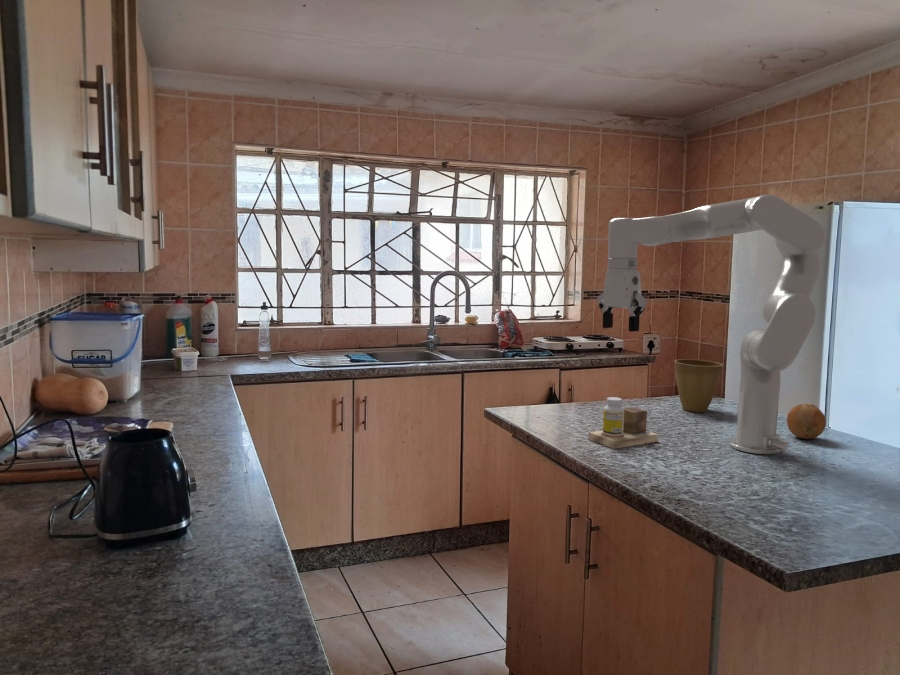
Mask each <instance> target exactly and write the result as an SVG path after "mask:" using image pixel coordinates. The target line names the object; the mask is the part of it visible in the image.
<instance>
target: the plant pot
mask: <svg viewBox="0 0 900 675" xmlns="http://www.w3.org/2000/svg"><path fill="white" fill-rule="evenodd" d="M723 367H724V365H723V363H720V362H716V361H711V360H704V359H692V358H691V359H689V358H687V359H685V358H684V359H681V358H680V359H676V360H674V370H675V372H674V373H675V381H676V387H677V391H678V392H677V393H678V397H679V400H680V403H681V407H682V409H683V410H685V411H687V412H692V413H705V412H707V410H708V408H709V407H710V405H711V403H712V400H713V398H714V396H715V393H716V390H717V388H718V385H719V381H720V379H721V374H722V370H723Z"/></svg>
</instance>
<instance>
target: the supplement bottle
mask: <svg viewBox="0 0 900 675" xmlns="http://www.w3.org/2000/svg"><path fill="white" fill-rule="evenodd" d="M622 405H623V399H622V398H620V397H615V396H609V397H607V398H606V405H605V406H604V407H603V415H602V416H603V418H602V419H603V420H602V421H603V422H602V430H603V433H604V434H605V435H608V436H622V435H623V430H624V408H625V407H623V406H622Z"/></svg>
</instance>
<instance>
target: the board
mask: <svg viewBox="0 0 900 675" xmlns="http://www.w3.org/2000/svg"><path fill="white" fill-rule="evenodd" d="M587 439H588V441H591V440H592V442H593V443H594V442H595V443H597V444H599V443H600V445H602V444H603V445H602V446H604V447H605V446H606V447H608V448H610V449H613V450H617V449H621V448H622V447H623V448H629V447H633V446H634V445H635V446H639V445H645V443H646V444H651V442H652V443H657V441H658V442H659V434H658V433H655V432H652V431H649V430H646V432H644V433H638V434H630V433H627V432H624V431H623V435H622V436H608V435H605V434H604V433H603V429H602V430H596V431H595V430H593V431H588V438H587ZM628 446H629V447H628ZM623 448H622V449H623Z"/></svg>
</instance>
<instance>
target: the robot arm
mask: <svg viewBox="0 0 900 675" xmlns="http://www.w3.org/2000/svg"><path fill="white" fill-rule="evenodd" d="M762 230H763V231H764V232H765V233H767V235H768V234H769V235H770V236H772V237H773V238H774V243H775V245H776V248H777V249H778V250H779V252H780V254H781V256H782V269H781V272H780V274H779V276H778V279H777V281H776V282H775V284H774V287H773V288H772V290H771V293H770V294H769V296H768V298H767V300H766V301H765V303H764V306H763V310H762V316H763V318H764V320H765V321H766V323H768V324H767V326H766V328H765V329H755V330H752V331H750V332H749V333H747V334H746V335H745V336H744V338H743V339H742V341H741V345H740V353H739V355H740V357H739V358H740V381H739V382H740V385H739V392H738V393H739V395H738V406H737V407H738V409H737V421H736V436H735V437H733V438H730V439H729V446H730V447H732V449H734V450H738V451H741V452H745V453H751V454H756V455H757V454H758V455H775V454H779V453H781V452H782V451H783V452H785V451H787V449H788V446H789V442H788V441H785V440H781V439H780V437H781V436H780V435H781V434H779V433H777V428H778V426H777V424H778V417H779V416H778V415H779V402H780V401H779V400H780V391H781V372H782V371H784V370H785V369H788V368H789V367H790V366H791V365H792V364H793V363H794V361H795V359H796V358H797V356H798V354H799V353H800V351H801V349H802V347H803V345H804V343H805V341H806V340H807V338H808V336H809V334H810V332H811V330H812V328H813V327H814V324H815V321H816V316H817V312H816V310H817V309H816V306H815V304H814V302H813V301H812V300H811V299H810V297H811V294H812V292H813V291H814V288H815V286H816V284H817V281H818V279H819V276H820V271H821V261H820V256H819V253H818V251H819V250H821V249H822V248H823V246H824V245H825V242H826V239H827V233H826V230H825V227H823V225H822V224H821V223H820V222H818V220H815V219H814V218H813V217H812V216H809V215H808V214H806V213H805V212H803V211H801V210H800V209H798V208H797V207H795V206H794V205H792V204H790V203H789V202H788V201H785V200H784V199H782V198H781V197H779V196H776V195H774V194H768V193H767V194H761V195H759V196H758V195H757V196H753V197H749V198H742V199H737V200H731V201H725V202H720V203H715V204H714V203H713V204H708V205H707V204H706V205H703V206H699V207H696V208H694V209H690V210H687V211H683V212H678V213H673V214H668V215H662V216H657V215H656V216H655V215H654V216H648V217H639V218H634V217H617V218H616V217H614V218H611V219H610V220H609V222H608V238H607V241H608V242H607V245H608V246H607V270H606V273H605V276H604V284H603V293H600V294H599V295H598V296H597V298H596V299H597V302H598V307H599V309H600V312H601V314H602V328H603V329H612V328H613V326H614V325H613V324H614V322H613V321H614V313H613V312H612V311H613V310H614V309H627V311H628V312H629V313H628V314H630V315H629V316H628V332H629V333H631V332H639V331H640V317H641V316H642V315H643V312H644V311H645V310H646V306H647V304H648V299H646V298H645V297H644V296H643V295H642V279H641V274H640V270H638V269H637V268H638V266H639V261H638V247H639V246H638V245H643V246H645V247H655V246H661V245H664V244H670V243H676V242H683V241H693V240H707V239H708V240H709V239H715V238H720V237H725V236H726V237H727V236H731V235H732V236H733V235H738V234H745V233H750V232H751V233H752V232H757V231H762Z"/></svg>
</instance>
